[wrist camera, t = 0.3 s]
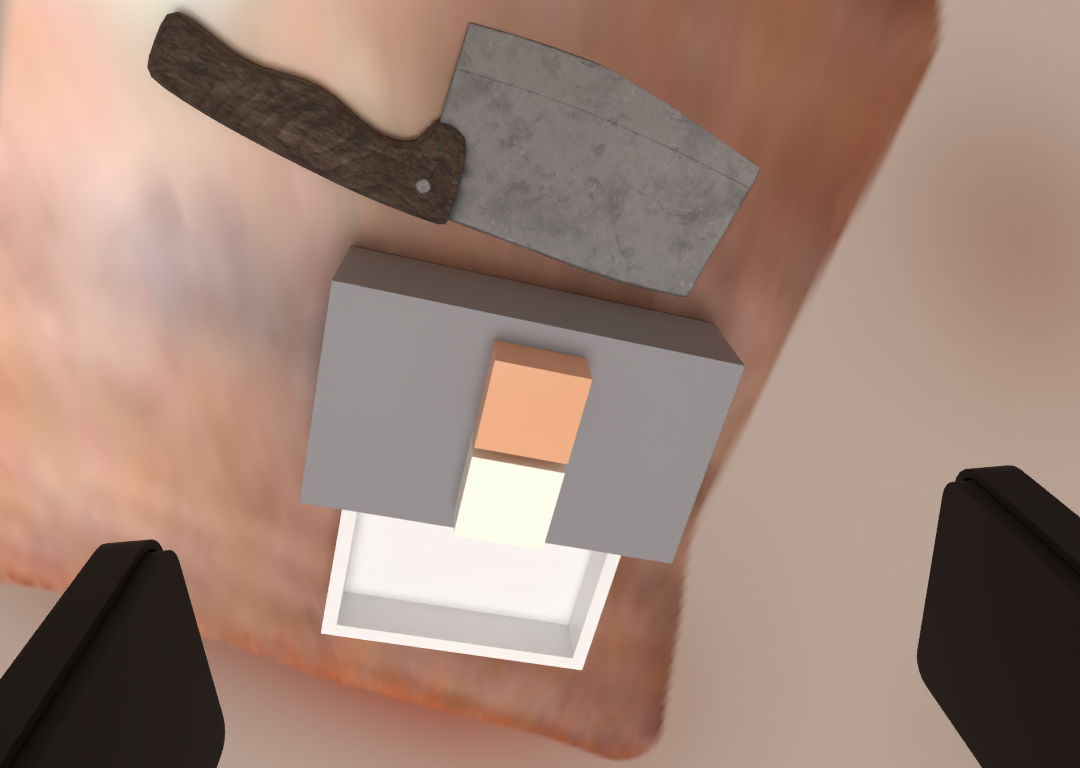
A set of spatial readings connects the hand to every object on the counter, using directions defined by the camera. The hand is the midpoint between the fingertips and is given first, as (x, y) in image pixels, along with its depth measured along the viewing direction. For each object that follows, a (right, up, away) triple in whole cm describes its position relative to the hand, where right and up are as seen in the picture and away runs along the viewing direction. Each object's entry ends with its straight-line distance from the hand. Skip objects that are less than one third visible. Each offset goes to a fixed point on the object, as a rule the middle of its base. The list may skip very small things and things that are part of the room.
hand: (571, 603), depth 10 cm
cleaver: (-4, +15, +31) cm, 35 cm away
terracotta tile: (-1, +2, +30) cm, 30 cm away
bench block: (-2, +3, +36) cm, 36 cm away
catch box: (-5, -8, +40) cm, 41 cm away
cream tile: (-2, -2, +32) cm, 32 cm away
